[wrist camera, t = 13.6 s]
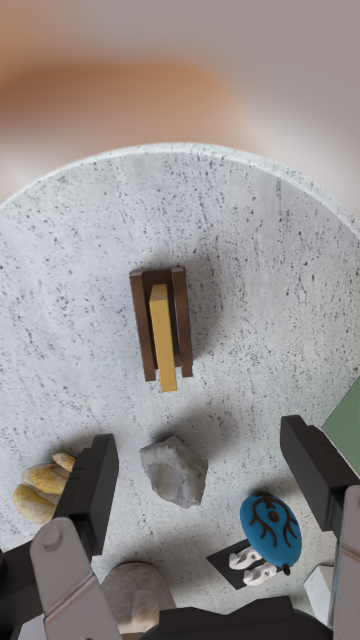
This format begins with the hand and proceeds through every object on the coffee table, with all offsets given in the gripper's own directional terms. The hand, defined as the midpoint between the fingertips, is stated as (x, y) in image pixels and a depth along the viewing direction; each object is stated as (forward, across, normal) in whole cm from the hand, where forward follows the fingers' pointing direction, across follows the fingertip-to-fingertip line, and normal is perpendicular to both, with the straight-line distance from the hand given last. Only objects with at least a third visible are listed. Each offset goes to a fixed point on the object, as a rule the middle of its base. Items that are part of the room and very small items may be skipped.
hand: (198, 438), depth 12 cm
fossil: (+19, +3, +20) cm, 28 cm away
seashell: (+19, +19, +23) cm, 35 cm away
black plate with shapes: (+19, -9, +48) cm, 53 cm away
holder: (+19, +2, 0) cm, 19 cm away
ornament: (+19, -10, +32) cm, 38 cm away
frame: (+18, +2, 0) cm, 18 cm away
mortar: (+19, +12, +49) cm, 54 cm away
